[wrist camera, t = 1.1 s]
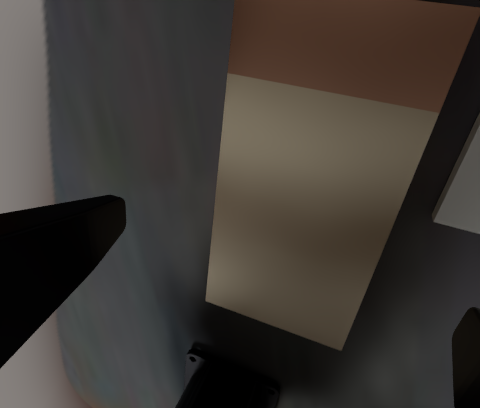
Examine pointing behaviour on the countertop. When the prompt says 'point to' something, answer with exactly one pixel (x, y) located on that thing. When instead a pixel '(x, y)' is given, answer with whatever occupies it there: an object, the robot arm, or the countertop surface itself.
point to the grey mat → (463, 188)
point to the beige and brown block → (323, 150)
